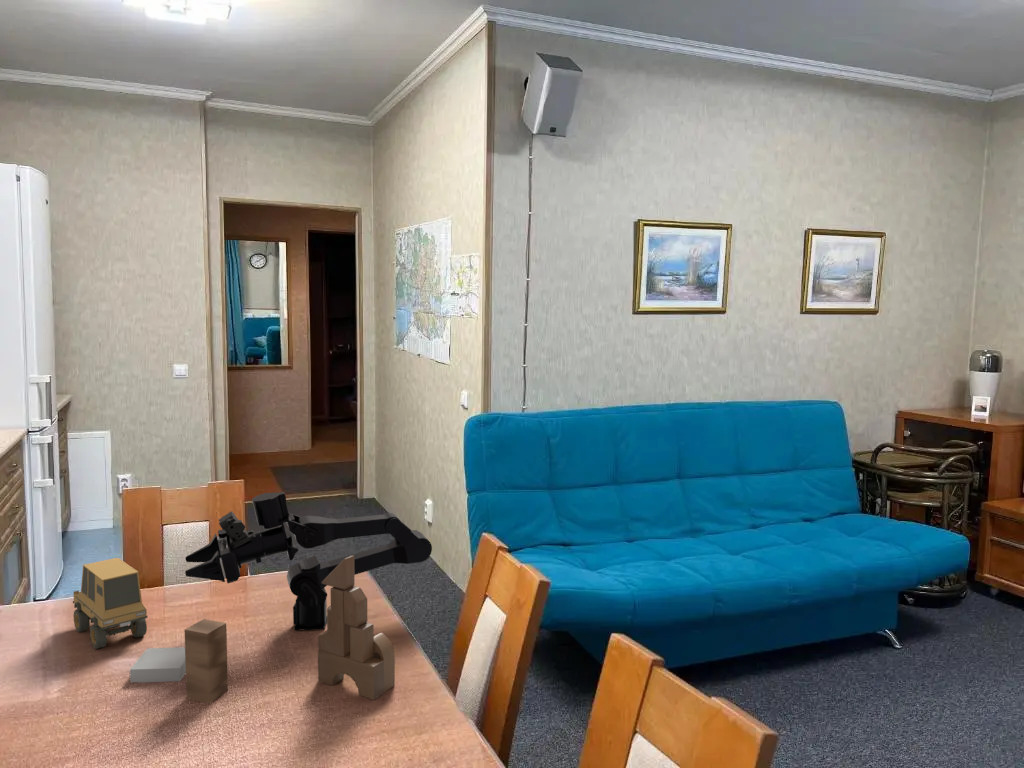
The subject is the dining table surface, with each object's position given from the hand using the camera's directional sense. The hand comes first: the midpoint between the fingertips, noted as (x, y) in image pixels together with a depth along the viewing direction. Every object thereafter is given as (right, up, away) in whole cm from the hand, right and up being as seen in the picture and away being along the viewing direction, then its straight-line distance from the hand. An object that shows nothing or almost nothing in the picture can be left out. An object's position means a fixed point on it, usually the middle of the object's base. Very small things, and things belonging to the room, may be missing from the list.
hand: (185, 566), depth 163 cm
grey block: (0, -18, -11) cm, 21 cm away
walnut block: (+12, -19, -20) cm, 30 cm away
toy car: (-18, -16, +5) cm, 25 cm away
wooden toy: (+38, -19, -14) cm, 45 cm away
